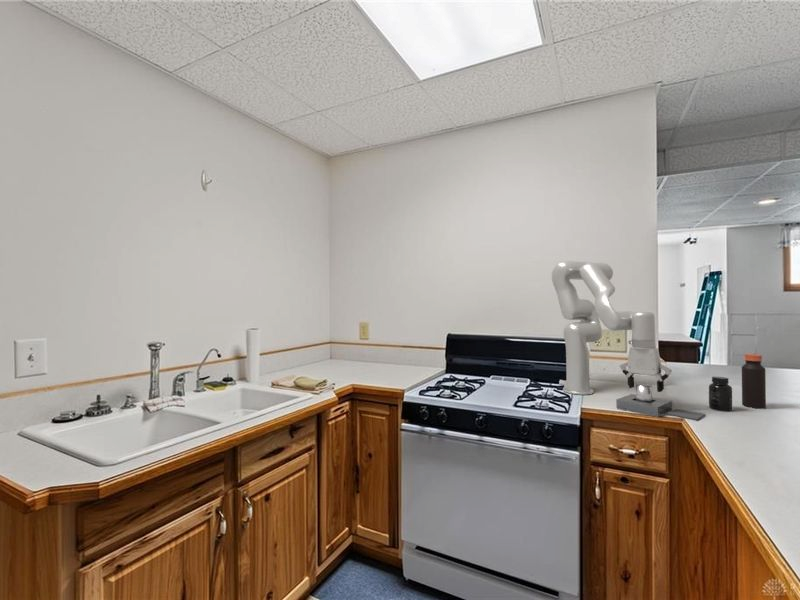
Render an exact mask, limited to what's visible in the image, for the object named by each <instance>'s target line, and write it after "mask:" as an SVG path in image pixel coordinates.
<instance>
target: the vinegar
mask: <svg viewBox="0 0 800 600" xmlns="http://www.w3.org/2000/svg"><path fill="white" fill-rule="evenodd" d="M744 361H745V364H743V365H742V366H741V404H742V406H743V405H744V407H746V408H750V407H752V408H751V409H758V408H763V409H765V408H766V407H767V399H766V397H767V394H766V391H767V390H766V389H767V388H766V386H767V385H766V379H767V378H766V368H765V367H764V366H763V365H762V362H763V356H762V354H757V353H745V354H744Z"/></svg>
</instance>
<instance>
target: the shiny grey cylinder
mask: <svg viewBox="0 0 800 600" xmlns="http://www.w3.org/2000/svg"><path fill="white" fill-rule="evenodd" d="M635 394H636V401H640V402H646V403H652V397H653V386H652V384H648V383H636V384H635Z"/></svg>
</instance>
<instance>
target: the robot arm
mask: <svg viewBox="0 0 800 600" xmlns="http://www.w3.org/2000/svg"><path fill="white" fill-rule="evenodd" d="M613 276H614V270H613V268H612V267H611V266H610V265H609V264H608V263H604V262H591V261H575V260H564V261H560V262H558V263H557V264H555V265H554V267H553V269H552V272H551V281H552V285H553V287H554V290H555V292H556V295H557V300H558V303H559V308H560V311H561V314H562V316H563V318H564V319H565V320H567V321H575V322H571V323H568V324H566V325H565V327H564V329H563V338H564V342H565V343H564V345H565V358H566V359H565V362H566V365H565V367H566V380H564V379H559V382H558V384H559V385H561V386H563V388H562V392H564V393H567V394H570V395H571V394H573V395H580V396H586V395H588V394H589V395H593V394H594V389H592V388H591V387H590V385H591V384H590V383H591V382H590V351H589V348H588V346H587V343H595V342H598V341H599V340H601V337H602V335H603V334H602V333H603V332H602V331H603V329H602V326H601V323H602V324H603V326H605V328H607V329H608V330H610V331H615V332H617V331H618V332H619V331H631V340H628V342H627V343H628V344H629V345H631V347H629V351H628V356H627V357H628V359H627V362H625V363H622V364H620V365H619V367H620V369H621V371H622V373H623V375H625V377H626V378H627V385H628V388H629V389H632V388H635V377H634V375H641V376H654V377H655V378H656V379H657V381H656V389H657V390H656V392H658V393H661V392H663V390H665V385H664V384H665V382H664V381H665V380H667V379H668V378H669V377H670V375H671V373H672V372H673V370H672V369H671V368H669V367H668V366H665V365H663V364H662V363H661V362H662V361H661V356H660V351H659V349H658V348H657V347H656V345H657V344H656V343H657V342H656V322H655V321H656V320H655V319H656V318H655V313H653V312H651V311H632V310H631V311H626V310H625V311H616V310H615V309H614V307H613V305H612V304H611V302H610V299H609V298H610V297H611V296H612V295H613V294H614V293H615V291H616V287H615V286H614V284H613V283H612V282H611V280H612V278H613ZM571 280H583V282H584V284H585V285H586V287H587V289H589V291H590V292H591V294H592V295H593V296H594V298H595V299H594V303H593V302H592V301H590V300H588V299H585V298H584V299H580V298H579V295H578V292H577V289H576V287H575V286H574V284H573V283H572V282H571ZM600 322H601V323H600ZM662 371H664V372H665V373H664V374H663V375H662ZM592 393H593V394H592Z"/></svg>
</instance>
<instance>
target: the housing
mask: <svg viewBox="0 0 800 600" xmlns="http://www.w3.org/2000/svg"><path fill="white" fill-rule="evenodd" d="M615 404H616V408H617V409H618V410H622V411H627V412H631V413H636V414H642V415H647V416H650V417H655V418H659V417H661V416H663V415H665V414H667V413H668V412H670V411H672V410H673V401H672V400H670V399H663V398H659V397H658V398H657V397H653V396H652V403H646V402H640V401H636V393H631V394H628V395H624V396H622V397H620V398H617V399H616V403H615ZM616 408H615V409H616Z"/></svg>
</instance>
